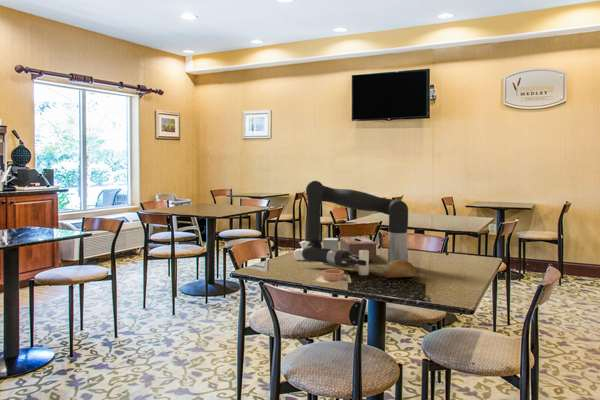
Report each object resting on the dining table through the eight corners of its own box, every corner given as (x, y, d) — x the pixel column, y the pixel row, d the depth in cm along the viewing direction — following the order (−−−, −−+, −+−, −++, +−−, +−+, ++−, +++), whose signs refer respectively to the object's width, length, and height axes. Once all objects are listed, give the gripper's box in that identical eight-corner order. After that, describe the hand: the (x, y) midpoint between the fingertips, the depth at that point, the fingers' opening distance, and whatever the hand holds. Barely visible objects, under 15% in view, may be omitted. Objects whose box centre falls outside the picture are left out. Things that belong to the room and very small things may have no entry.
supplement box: (337, 264, 247) (337, 240, 246) (322, 264, 249) (322, 239, 248) (338, 261, 254) (338, 237, 254) (324, 261, 256) (324, 237, 255)
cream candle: (368, 276, 220) (368, 247, 219) (369, 278, 216) (369, 249, 215) (358, 275, 220) (358, 247, 219) (359, 278, 216) (359, 249, 215)
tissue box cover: (376, 262, 254) (376, 243, 253) (349, 262, 252) (349, 244, 252) (365, 253, 279) (365, 236, 279) (340, 254, 278) (340, 236, 277)
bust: (315, 263, 262) (314, 245, 268) (316, 257, 255) (315, 238, 262) (293, 263, 261) (293, 245, 267) (293, 257, 255) (293, 238, 261)
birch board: (349, 277, 217) (349, 274, 217) (351, 286, 202) (351, 282, 202) (316, 277, 218) (316, 274, 218) (315, 285, 203) (315, 282, 203)
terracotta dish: (343, 275, 215) (343, 269, 214) (344, 280, 205) (344, 273, 205) (322, 275, 215) (322, 269, 215) (322, 280, 206) (322, 273, 205)
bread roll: (419, 279, 214) (419, 261, 213) (386, 280, 212) (386, 262, 211) (412, 274, 223) (412, 257, 223) (380, 275, 222) (380, 258, 221)
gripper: (329, 252, 222) (359, 256, 210) (347, 247, 232) (377, 252, 221) (329, 268, 222) (359, 273, 211) (347, 263, 233) (377, 268, 221)
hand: (368, 262), depth 216 cm, fingers closed on cream candle, 4 cm apart
